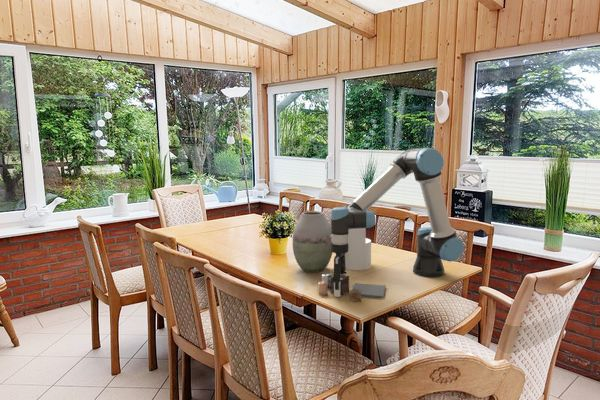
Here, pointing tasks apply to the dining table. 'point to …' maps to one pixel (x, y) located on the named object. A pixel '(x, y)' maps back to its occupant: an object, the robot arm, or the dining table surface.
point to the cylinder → (358, 250)
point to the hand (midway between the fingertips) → (339, 292)
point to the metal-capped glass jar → (327, 279)
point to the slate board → (370, 290)
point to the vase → (312, 242)
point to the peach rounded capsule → (322, 288)
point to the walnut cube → (355, 295)
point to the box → (344, 285)
